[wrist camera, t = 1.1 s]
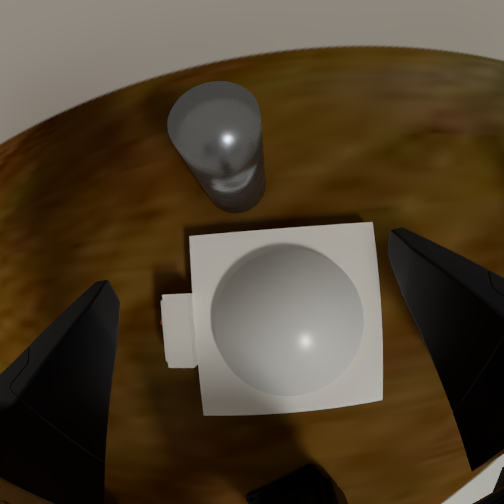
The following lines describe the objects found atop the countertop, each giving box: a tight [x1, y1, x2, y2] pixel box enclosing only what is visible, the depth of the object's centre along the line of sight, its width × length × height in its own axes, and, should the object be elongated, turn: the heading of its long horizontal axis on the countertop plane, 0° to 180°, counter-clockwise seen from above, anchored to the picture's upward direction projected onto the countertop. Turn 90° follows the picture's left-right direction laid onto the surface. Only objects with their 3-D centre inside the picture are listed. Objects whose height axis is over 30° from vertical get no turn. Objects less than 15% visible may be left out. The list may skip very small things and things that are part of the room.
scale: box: [161, 222, 383, 416], centre depth 21 cm, size 13×15×2 cm
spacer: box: [167, 81, 265, 213], centre depth 19 cm, size 4×4×10 cm
